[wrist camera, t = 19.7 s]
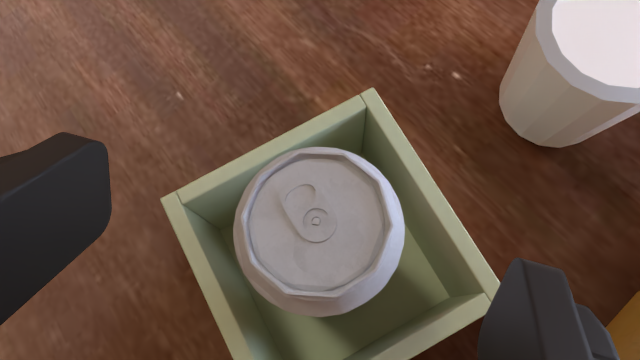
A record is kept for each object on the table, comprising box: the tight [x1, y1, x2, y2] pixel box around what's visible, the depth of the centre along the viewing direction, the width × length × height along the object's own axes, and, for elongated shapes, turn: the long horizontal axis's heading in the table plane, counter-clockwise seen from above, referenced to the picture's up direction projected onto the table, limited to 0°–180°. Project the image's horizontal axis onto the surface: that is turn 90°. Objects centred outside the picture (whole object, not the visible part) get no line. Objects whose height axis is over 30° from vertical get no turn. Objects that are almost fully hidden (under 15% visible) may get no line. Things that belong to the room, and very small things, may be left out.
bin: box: [160, 87, 501, 360], centre depth 21 cm, size 10×10×7 cm
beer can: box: [233, 147, 405, 317], centre depth 18 cm, size 5×5×12 cm
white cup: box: [499, 0, 640, 148], centre depth 23 cm, size 7×7×7 cm
